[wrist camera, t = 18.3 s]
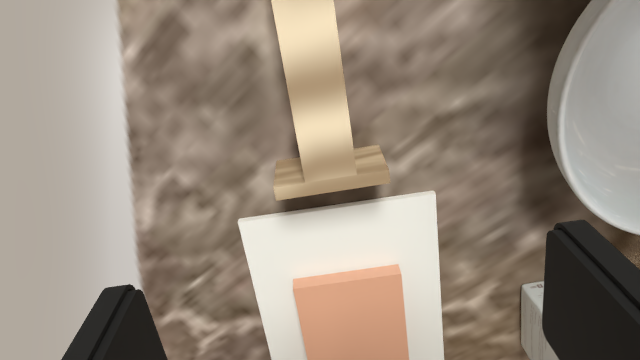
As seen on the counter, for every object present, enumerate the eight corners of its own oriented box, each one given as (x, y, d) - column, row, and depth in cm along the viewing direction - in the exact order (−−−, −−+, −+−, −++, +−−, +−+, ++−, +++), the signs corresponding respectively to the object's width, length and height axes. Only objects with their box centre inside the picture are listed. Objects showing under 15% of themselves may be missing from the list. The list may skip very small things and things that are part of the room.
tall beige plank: (236, -33, 32) (225, -32, 28) (356, -54, 32) (365, -56, 28) (279, 172, 39) (276, 200, 34) (379, 156, 38) (390, 183, 34)
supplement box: (596, 333, 46) (693, 456, 35) (518, 344, 47) (589, 470, 35) (603, 269, 43) (712, 381, 32) (519, 281, 44) (598, 396, 32)
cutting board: (238, 218, 40) (238, 222, 39) (433, 190, 40) (435, 193, 39) (278, 379, 47) (277, 384, 47) (442, 357, 47) (444, 362, 46)
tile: (292, 289, 40) (311, 378, 44) (401, 273, 40) (409, 364, 44) (293, 277, 42) (310, 364, 46) (397, 262, 42) (406, 351, 46)
